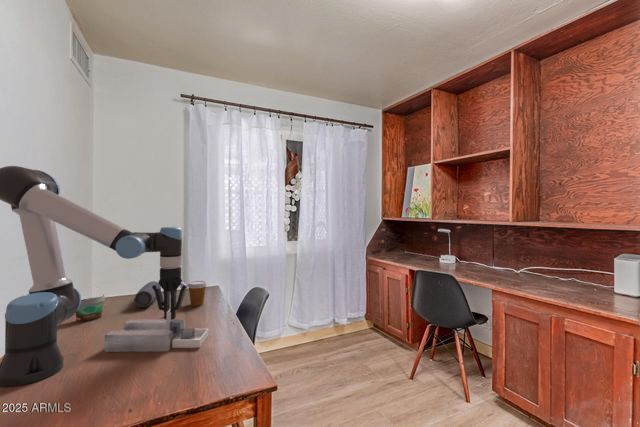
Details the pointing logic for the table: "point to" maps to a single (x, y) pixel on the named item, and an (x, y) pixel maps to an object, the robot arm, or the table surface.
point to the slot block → (140, 336)
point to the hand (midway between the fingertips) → (169, 327)
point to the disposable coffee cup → (197, 292)
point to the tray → (191, 340)
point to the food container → (90, 309)
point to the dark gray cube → (177, 326)
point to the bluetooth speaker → (145, 295)
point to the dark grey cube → (188, 334)
